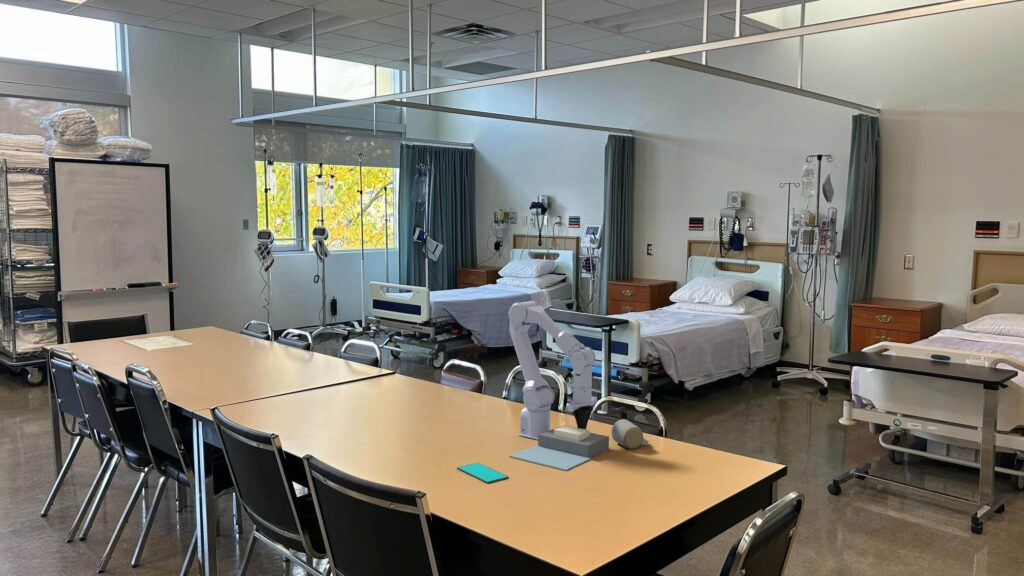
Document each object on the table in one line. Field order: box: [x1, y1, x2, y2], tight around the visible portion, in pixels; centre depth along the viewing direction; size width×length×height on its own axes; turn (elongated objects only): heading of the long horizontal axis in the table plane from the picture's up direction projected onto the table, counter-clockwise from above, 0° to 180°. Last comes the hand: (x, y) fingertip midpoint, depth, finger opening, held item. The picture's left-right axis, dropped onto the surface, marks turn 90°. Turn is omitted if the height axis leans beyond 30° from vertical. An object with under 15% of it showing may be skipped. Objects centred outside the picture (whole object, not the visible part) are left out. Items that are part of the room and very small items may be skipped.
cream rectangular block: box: [553, 424, 591, 441], centre depth 227 cm, size 9×6×2 cm, turn 52°
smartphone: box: [456, 462, 510, 485], centre depth 205 cm, size 7×1×15 cm
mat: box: [509, 445, 592, 472], centre depth 219 cm, size 20×13×1 cm, turn 52°
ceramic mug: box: [611, 418, 649, 450], centre depth 231 cm, size 11×8×8 cm
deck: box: [537, 426, 610, 459], centre depth 228 cm, size 18×12×4 cm, turn 52°
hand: (581, 429), depth 232 cm, fingers closed
